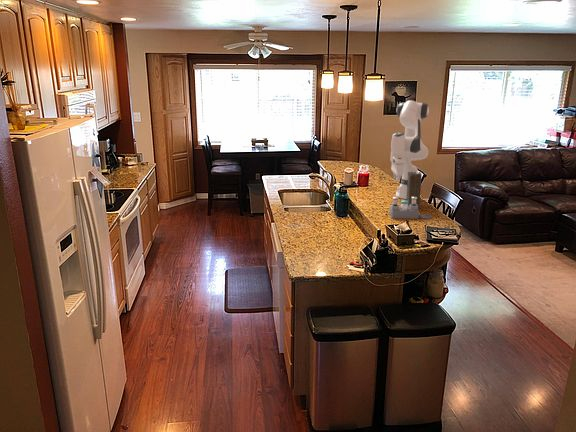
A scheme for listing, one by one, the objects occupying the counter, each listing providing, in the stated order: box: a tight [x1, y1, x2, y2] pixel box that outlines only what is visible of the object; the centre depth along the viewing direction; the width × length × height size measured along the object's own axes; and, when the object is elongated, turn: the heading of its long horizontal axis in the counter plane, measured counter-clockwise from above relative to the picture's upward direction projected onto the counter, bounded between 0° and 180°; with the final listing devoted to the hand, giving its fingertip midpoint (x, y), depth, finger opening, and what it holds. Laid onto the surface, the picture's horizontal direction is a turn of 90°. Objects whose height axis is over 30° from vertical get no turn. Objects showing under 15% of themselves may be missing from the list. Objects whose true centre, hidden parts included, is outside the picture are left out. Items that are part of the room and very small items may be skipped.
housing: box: [388, 203, 420, 220], centre depth 300 cm, size 10×17×8 cm, turn 88°
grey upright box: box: [405, 171, 423, 210], centre depth 319 cm, size 19×8×25 cm, turn 170°
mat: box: [418, 214, 434, 220], centre depth 298 cm, size 8×8×1 cm
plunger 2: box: [411, 196, 417, 206], centre depth 298 cm, size 4×4×6 cm
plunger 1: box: [392, 196, 399, 206], centre depth 298 cm, size 4×4×6 cm
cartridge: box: [400, 199, 408, 210], centre depth 299 cm, size 5×5×10 cm
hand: (396, 180), depth 294 cm, fingers open, 6 cm apart
